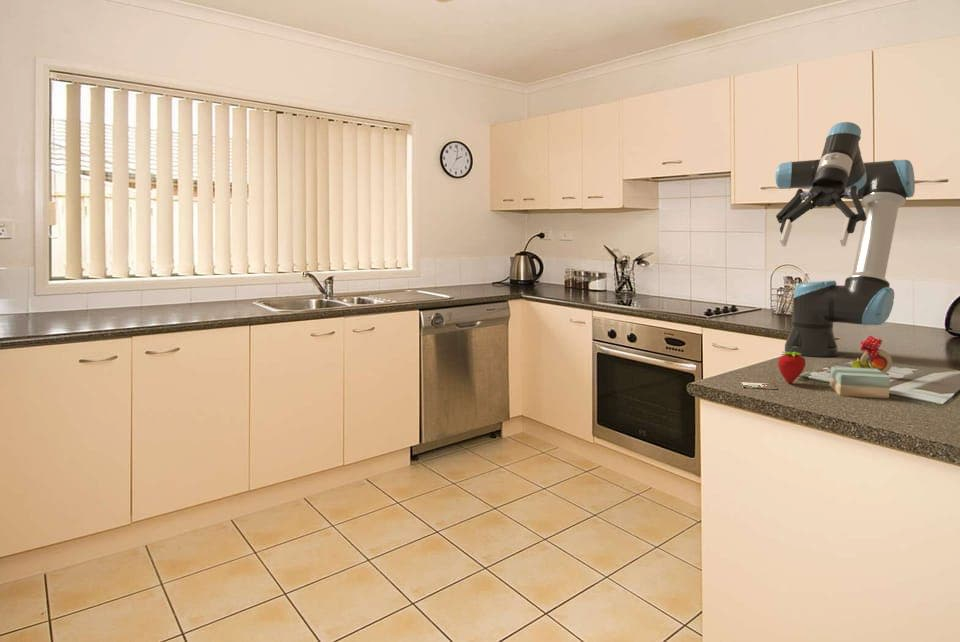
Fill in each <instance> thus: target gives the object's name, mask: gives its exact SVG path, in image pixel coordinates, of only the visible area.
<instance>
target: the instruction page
mask: <svg viewBox="0 0 960 642" xmlns="http://www.w3.org/2000/svg"><path fill="white" fill-rule="evenodd" d="M741 383H742V384H743V385H748V386H752V387H758V385H760V386H761V387H763V386H764V385H762V384H764V383H760V382H746V381H745V382H740V384H741ZM742 384H741V385H742ZM765 386H767V385H765Z"/></svg>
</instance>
